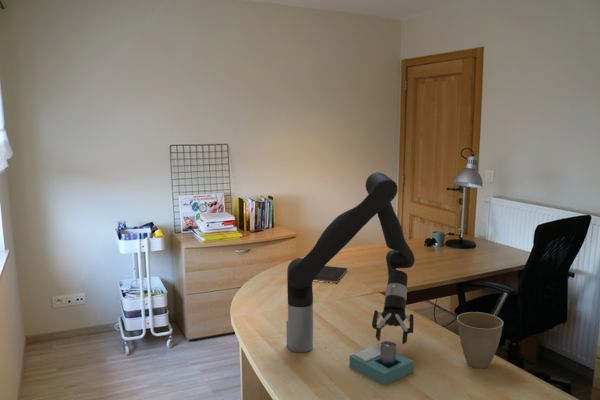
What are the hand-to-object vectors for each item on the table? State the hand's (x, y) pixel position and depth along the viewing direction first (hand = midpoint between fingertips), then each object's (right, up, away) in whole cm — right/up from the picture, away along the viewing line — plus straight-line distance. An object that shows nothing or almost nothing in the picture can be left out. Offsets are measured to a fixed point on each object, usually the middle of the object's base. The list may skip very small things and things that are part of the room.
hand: (390, 341), depth 176 cm
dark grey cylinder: (-2, -9, -6) cm, 11 cm away
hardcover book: (-16, +7, +97) cm, 99 cm away
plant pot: (+30, -8, 0) cm, 31 cm away
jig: (-4, -8, -3) cm, 10 cm away
